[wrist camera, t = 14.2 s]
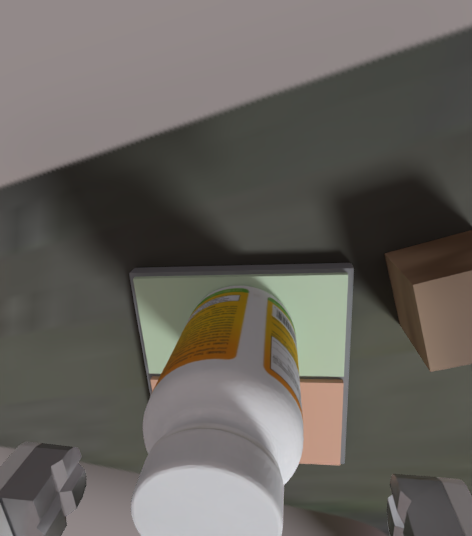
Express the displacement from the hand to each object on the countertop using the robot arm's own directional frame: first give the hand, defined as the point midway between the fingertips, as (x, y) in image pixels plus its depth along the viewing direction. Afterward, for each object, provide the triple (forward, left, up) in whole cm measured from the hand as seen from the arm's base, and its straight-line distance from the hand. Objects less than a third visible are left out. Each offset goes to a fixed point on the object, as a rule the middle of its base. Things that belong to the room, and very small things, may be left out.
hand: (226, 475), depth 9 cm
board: (+1, +4, -10) cm, 11 cm away
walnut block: (-9, -1, -10) cm, 14 cm away
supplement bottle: (+1, +1, -9) cm, 9 cm away
